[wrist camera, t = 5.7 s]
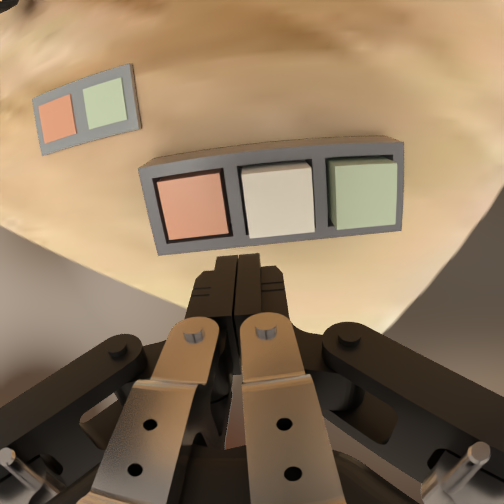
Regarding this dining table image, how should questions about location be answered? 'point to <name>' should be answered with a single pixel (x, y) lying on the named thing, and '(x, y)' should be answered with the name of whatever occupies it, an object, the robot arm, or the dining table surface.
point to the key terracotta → (195, 203)
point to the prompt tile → (87, 110)
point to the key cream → (278, 199)
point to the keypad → (232, 165)
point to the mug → (7, 4)
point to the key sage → (362, 191)
